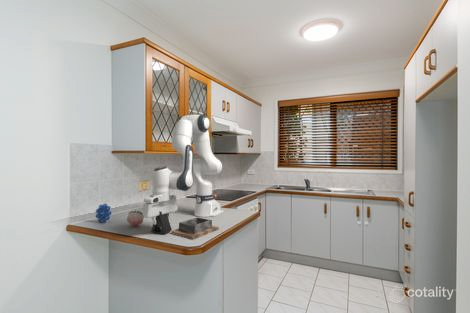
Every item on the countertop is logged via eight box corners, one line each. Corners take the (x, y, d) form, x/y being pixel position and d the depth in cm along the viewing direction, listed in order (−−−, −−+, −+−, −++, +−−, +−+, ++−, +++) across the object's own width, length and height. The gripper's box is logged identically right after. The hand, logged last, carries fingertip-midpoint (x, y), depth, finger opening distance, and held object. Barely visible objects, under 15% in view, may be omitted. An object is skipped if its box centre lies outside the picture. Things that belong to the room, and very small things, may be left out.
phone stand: (171, 230, 133) (171, 208, 133) (165, 234, 127) (164, 211, 127) (158, 228, 136) (157, 207, 136) (150, 232, 130) (150, 209, 130)
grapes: (116, 221, 153) (116, 202, 153) (108, 224, 147) (107, 204, 147) (101, 220, 157) (101, 201, 157) (92, 223, 150) (92, 203, 150)
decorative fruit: (146, 224, 147) (146, 207, 147) (141, 228, 139) (141, 210, 139) (130, 224, 147) (130, 207, 147) (124, 228, 139) (124, 211, 139)
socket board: (197, 224, 145) (197, 215, 145) (218, 229, 136) (218, 219, 136) (171, 233, 129) (171, 223, 129) (193, 239, 120) (193, 228, 120)
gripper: (172, 193, 141) (172, 217, 142) (140, 199, 125) (141, 226, 125) (179, 194, 138) (180, 219, 138) (148, 200, 121) (148, 228, 121)
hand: (161, 222), depth 131 cm, fingers closed on phone stand, 6 cm apart
